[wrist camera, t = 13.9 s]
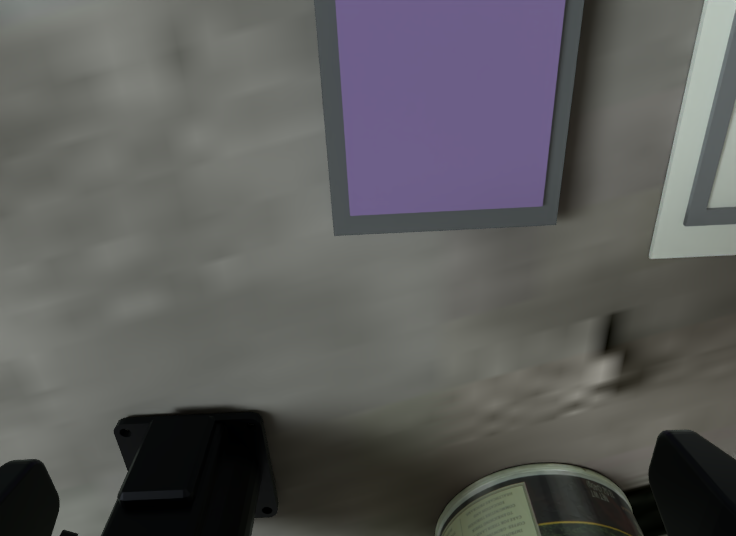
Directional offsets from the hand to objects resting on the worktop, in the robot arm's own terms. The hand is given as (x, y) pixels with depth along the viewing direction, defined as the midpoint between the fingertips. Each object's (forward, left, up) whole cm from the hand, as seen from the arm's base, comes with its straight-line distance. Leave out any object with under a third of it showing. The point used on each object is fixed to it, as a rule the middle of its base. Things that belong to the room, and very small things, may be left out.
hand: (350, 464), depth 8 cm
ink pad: (+3, -3, -13) cm, 14 cm away
